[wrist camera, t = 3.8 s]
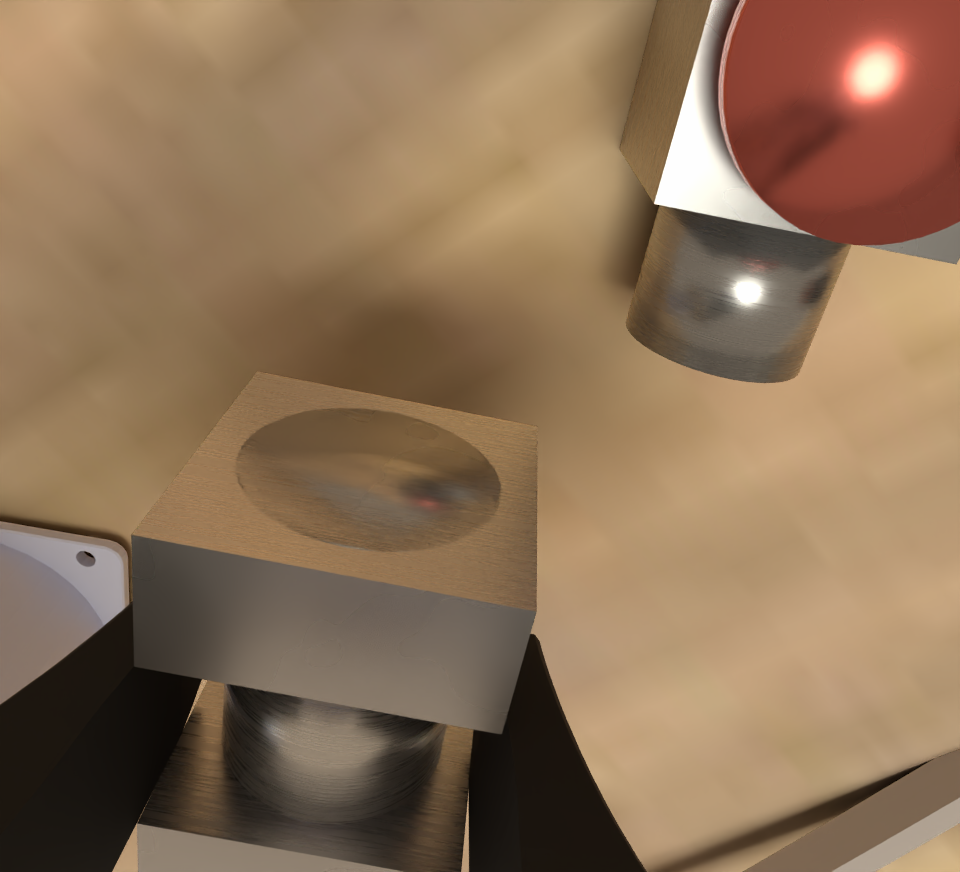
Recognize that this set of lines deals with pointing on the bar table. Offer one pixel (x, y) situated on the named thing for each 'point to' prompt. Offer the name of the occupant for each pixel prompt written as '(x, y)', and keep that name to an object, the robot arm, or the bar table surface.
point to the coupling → (334, 628)
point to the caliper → (879, 824)
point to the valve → (786, 166)
